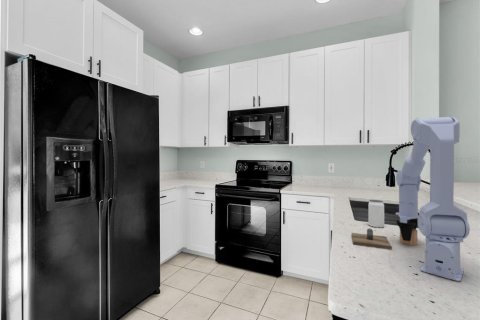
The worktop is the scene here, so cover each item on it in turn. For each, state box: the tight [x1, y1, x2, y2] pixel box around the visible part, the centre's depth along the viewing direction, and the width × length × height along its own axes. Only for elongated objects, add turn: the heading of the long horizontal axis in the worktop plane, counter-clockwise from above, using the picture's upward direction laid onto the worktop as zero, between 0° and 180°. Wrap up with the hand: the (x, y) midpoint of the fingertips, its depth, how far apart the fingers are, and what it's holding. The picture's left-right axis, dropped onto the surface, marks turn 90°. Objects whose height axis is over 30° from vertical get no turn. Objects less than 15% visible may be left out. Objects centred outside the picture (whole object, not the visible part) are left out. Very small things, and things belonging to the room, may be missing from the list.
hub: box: [399, 228, 418, 246], centre depth 86 cm, size 5×5×5 cm
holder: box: [351, 228, 393, 250], centre depth 87 cm, size 12×12×5 cm
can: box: [367, 199, 385, 228], centre depth 109 cm, size 6×6×12 cm
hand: (408, 238), depth 86 cm, fingers closed on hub, 5 cm apart
